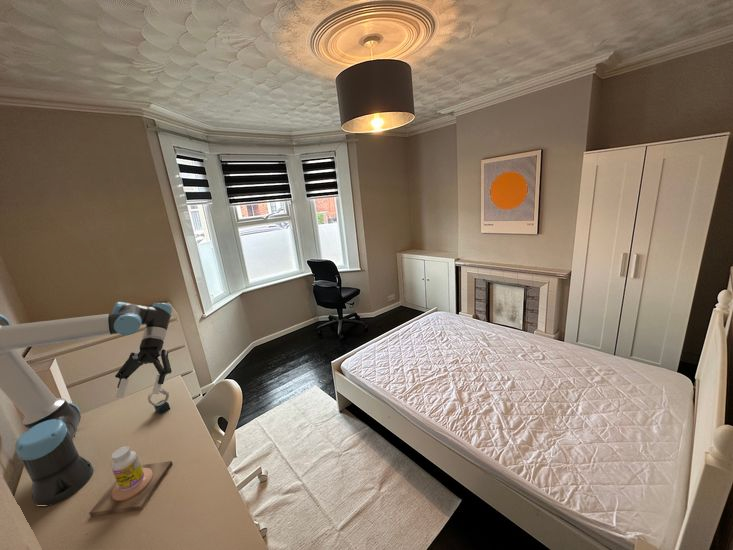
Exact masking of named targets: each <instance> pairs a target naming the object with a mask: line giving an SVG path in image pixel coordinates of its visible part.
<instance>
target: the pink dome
mask: <svg viewBox="0 0 733 550" xmlns="http://www.w3.org/2000/svg"><path fill="white" fill-rule="evenodd" d="M142 469H143V472H144V478H143V480H142V481H141V482H140V483H139V484H138V485H137V486H136V487H134V488H132V489H130V490H127V491H122V490H121V489H120V487H119V485H118V483H117V484H116V486H115V487H114V489H113V490H112V497H113V499H114V500H115V501H124V500H127V499H130V498H132V497H134V496H135V495H137V494H139V493H140V492H141V491H142V490H144V489H145V488H146V487H147V486H148V484H149V483H150V482H151V480H152V478H153V472H152V470H151V469H150V468H142Z"/></svg>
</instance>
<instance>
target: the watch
mask: <svg viewBox="0 0 733 550" xmlns="http://www.w3.org/2000/svg"><path fill="white" fill-rule="evenodd" d="M160 393H161V394H162V395H164V396H165V398H164V399H162V400H161V401H159V402H157V403H155V402H152V400H151V399H152V396H153V393H152V391H150V392H149V394H148V397H147V402H148V403H149V404H150V405H151V406H153V407H154V410H155V412H157V413H158V414H159V415H162V414H164V413H166V412H168V411H169V410H171V407H170V404H169V402H168V400H169V398H170V395H169V394H170V392H168V390H166V389H164V388H162V387H161V388H160V392H159V394H160Z"/></svg>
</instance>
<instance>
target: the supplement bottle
mask: <svg viewBox="0 0 733 550" xmlns="http://www.w3.org/2000/svg"><path fill="white" fill-rule="evenodd" d="M111 461H112V463H111V466H110V468H111V470H112V472H113V475H114V478H115V481H116V480H117V483H118V485H119V487H120V489H121V490H122V491H127V490H130V489H132V488H134V487H136V486H137V485H138V484H139V483H140V482H141V481H142V480H143V478H144V472H143V469H142V467H141V465H142V464H141V463H140V459H139V457H138V455H137V452H136V451H134V450H131V448H130V446H129V445H125V446H121V447H119V448H117V449H116V450H115V451H113V452H112V454H111Z"/></svg>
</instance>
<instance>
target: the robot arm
mask: <svg viewBox="0 0 733 550" xmlns="http://www.w3.org/2000/svg"><path fill="white" fill-rule="evenodd" d="M172 311H173V307H172V306H171V305H170V304H168V303H165V302H154V303H152V304H151V306H145V305H140V304H135V303H131V302H123V301H117V302H115V303H114V306H113V309H112V311H111V313H104V314H95V315H86V316H85V315H84V316H77V317H68V318H61V319H53V320H43V321H35V322H26V323H17V324H11V323H10V320H9V319H8V317H6V316H5V315H3V314H1V313H0V390H1V391H2V393H4V394H5V395H6V396H7V398H8V399H9V400H10V401H11V402H12V403H13V404H14V406H15V407H16V408H17V409H18V410H19V411H20V412H21V413H22V414H23V415H24V418H23V420H22V425H23V426H24V427H25V428H26V429H27V431H25V432H23V433H22V434H21V435H20V436H19V437H18V438H17V440H16V441H15V444H14V447H15V453H16V455H17V457H18V458H19V460H20V462H21V464H22V466H23V467H24V469H25V470H26V473H27V474H28V476H29V479H30V480H31V482H32V488H31V489H32V490H31V491H32V494H31V500H32V503H33V504H34V505H35V504H36V505H49V506H51V505H50V504H52V505H54V503H55V504H57V503H59V502H61V501H63V500H66V499H67V498H68V497H70V496H71V495H73V494H75V493H76V492H77V491H79V490H80V489H81V488H83V486H84V485H86V484H87V482H89V481H90V479H91V478H92V476H93V474H94V472H95V471H94V468H93V467H94V466H93V465H92V464H91V462H90V461H88V460H87V459H86V458H84V457H83V456H82V455H80V454H79V452H78V449H77V447H76V445H75V443H74V437H75V434H76V432H77V430H78V427H79V425H80V422H81V419H82V418H81V417H82V416H81V409H80V408H79V406H78V405H76V404H74V403H73V402H68V401H67V400H66V399H65V398H62V397H61V398H60V397H56V395H54V394H53V392H52V391H51V390H50V389H49V387H48V386H47V385H46V383H44V382H43V380H42V379H41V377H39V375H38V374H37V373H36V372H35V370H34V369H33V368H32V367H31V365H30V364H29V363H28V362H27V360H25V358H24V357H23V356H22V354H21V353H20V352H19V351H18V349H23V348H30V347H37V346H43V345H50V344H58V343H63V342H70V341H78V340H82V339H90V338H91V339H92V338H98V337H103V336H110V335H117V334H118V335H122V336H130V335H134V334H135V333H137V332H138V331H139V330H140V328H141V326H142V325H145V329H144V332H143V335H142V338H141V341H140V345H139V352H137V353H135V352H131V353H130V354H129V357H128V358H127V359H126V361H125V362H124V364H123V365H122V366H121V368H120V369H119V370H118V371H117V373H116V374H115V375H114V377H115V378H117V379H119V381H118V384H117V387H116V388H117V391H116V395H115V398H119V399H123V398H124V397H125V394H126V390H127V387H128V384H129V377H130V376H131V375H133V374H134V373H135V372H136V371H137V370H138V368H140V367H141V366H143V365H145V364H146V365H147V364H153V366H154V367H155V369H156V371H157V372H158V374H156V377H155V381H154V385H153V389H152V390H151V392H152V393H153V394H155V395H160V388H162V385H164V382H165V378H166V376H167V375H168V374H171V373H172V367H171V363H170V359H169V350H167V349H163V348H164V347H163V346H164V342H165V339H166V336H167V331H168V327H169V324H170V322H171V321H170V320H171V317H172ZM159 358H160V359H161V361H160V359H159Z"/></svg>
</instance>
